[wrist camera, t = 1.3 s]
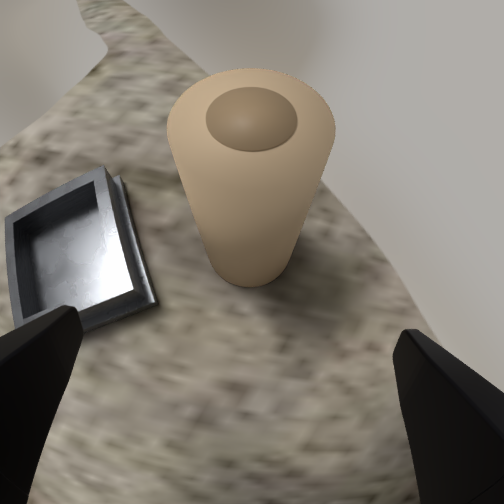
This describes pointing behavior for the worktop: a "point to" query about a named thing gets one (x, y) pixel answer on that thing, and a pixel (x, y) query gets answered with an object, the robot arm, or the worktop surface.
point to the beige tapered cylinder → (250, 166)
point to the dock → (77, 254)
